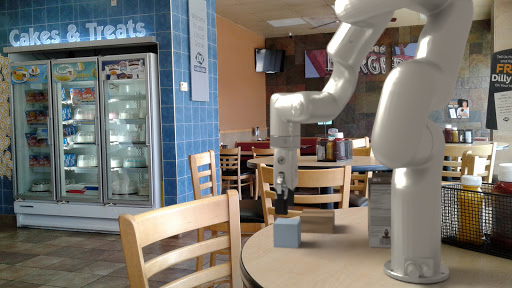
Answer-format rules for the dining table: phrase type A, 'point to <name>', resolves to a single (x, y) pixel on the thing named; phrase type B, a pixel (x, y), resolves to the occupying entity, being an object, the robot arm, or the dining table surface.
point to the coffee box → (379, 212)
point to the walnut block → (317, 221)
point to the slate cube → (287, 232)
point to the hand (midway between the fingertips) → (284, 210)
